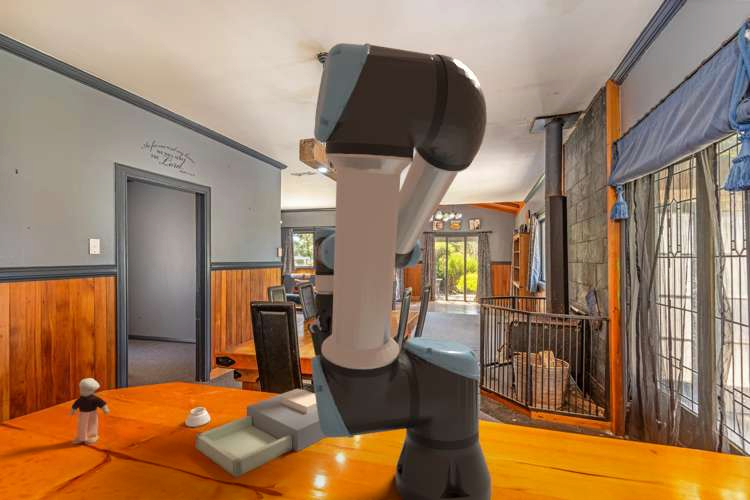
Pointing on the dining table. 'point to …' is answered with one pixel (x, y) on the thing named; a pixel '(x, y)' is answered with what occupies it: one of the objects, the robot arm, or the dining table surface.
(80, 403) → the grandmother figurine
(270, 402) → the grey drawer casing
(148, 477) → the dining table surface
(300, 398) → the card
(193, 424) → the white jar
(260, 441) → the tray
